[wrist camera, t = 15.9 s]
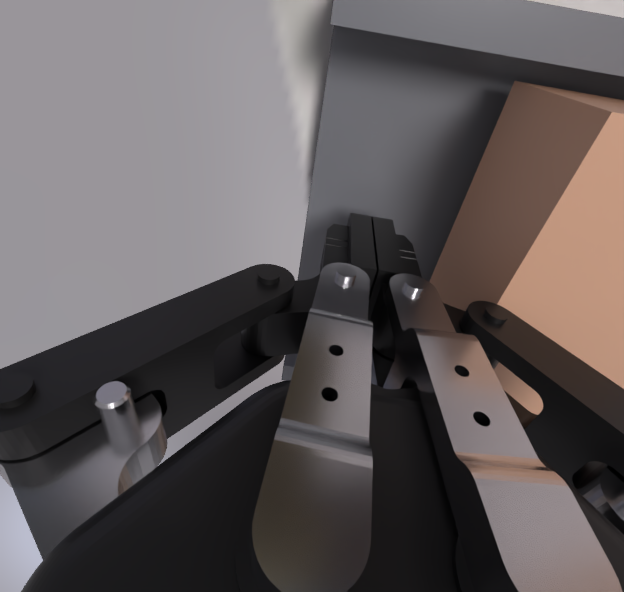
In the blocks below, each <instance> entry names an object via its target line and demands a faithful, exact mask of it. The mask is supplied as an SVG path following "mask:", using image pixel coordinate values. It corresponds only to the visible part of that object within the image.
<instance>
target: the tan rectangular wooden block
mask: <svg viewBox="0 0 624 592" xmlns="http://www.w3.org/2000/svg"><path fill="white" fill-rule="evenodd" d="M429 282H430V283H431V284H433V285H434V286H435V288H436V289H437V291H438V293H439V295H440V298H441V300H442V302H443V303H445V304H447V305H450V306H453V307H455V308H458V309H461V310H463V311H466V309H467V308H468V306H469V304H470V303H472V302H474V301H488V302H492V303H495V304H497V305H500V306H502V307H504V308H506V309H507V310H509V311H510V312H512V313H513V314H515V315H516V316H518V317H519V318H520V319H522V320H523V321H525V322H526V323H528V324H529V325H531V326H532V327H534V328H535V329H537V330H538V331H540V332H541V333H542V334H544V335H545V336H547V337H548V338H550V339H551V340H553V341H554V342H556V343H557V344H559V345H560V346H562V347H563V348H564V349H566V350H567V351H569V352H570V353H572V354H573V355H575V356H576V357H578V358H579V359H581V360H582V361H584V362H585V363H586V364H588V365H589V366H591V367H592V368H594V369H595V370H597V371H598V372H600V373H601V374H603V375H604V376H606V377H607V378H608V379H610V380H611V381H613V382H614V383H616V384H617V385H619V386H620V387H622V388H623V389H624V100H621V99H615V98H609V97H604V96H598V95H592V94H587V93H581V92H575V91H570V90H564V89H559V88H553V87H547V86H542V85H536V84H530V83H525V82H519V81H514V84H513V86H512V88H511V91H510V93H509V95H508V98H507V100H506V102H505V105H504V107H503V110H502V112H501V114H500V117H499V119H498V121H497V124H496V126H495V128H494V131H493V133H492V135H491V138H490V140H489V142H488V145H487V147H486V150H485V152H484V154H483V157H482V159H481V161H480V164H479V166H478V168H477V171H476V173H475V175H474V178H473V180H472V182H471V185H470V187H469V190H468V192H467V194H466V197H465V199H464V201H463V204H462V206H461V208H460V211H459V213H458V215H457V218H456V220H455V222H454V225H453V227H452V230H451V232H450V234H449V237H448V239H447V241H446V244H445V246H444V248H443V251H442V253H441V255H440V258H439V260H438V262H437V265H436V267H435V270H434V272H433V274H432V277H431V279H430V281H429ZM494 372H495V374H496V376H497V378H498V380H499V382H500V384H501V385H502V387H503V389H504V390H505V391H506V392H507V393H508V394H509V395H510V396H512V397H513V398H514V399H515V400H516V401H518V402H519V403H520V404H521V405H522V406H523V407H525V408H526V409H527V410H528V411H530V412H531V413H533V414H536V415H538V414H539V413H540V412H541V411H542V409H543V402H542V399H541V397H540V396H539V394H538V393H537V392H536V391H535V390H533V389H532V388H531V387H530V386H528V385H527V384H526V383H525V382H523V381H522V380H521V379H520V378H518V377H517V376H516V375H515V374H513V373H512V372H511V371H510V370H508V369H507V368H506V367H505V366H503V365H502V364H501V363H500V362H499V363H498V365H497V366H496V368H495V369H494Z"/></svg>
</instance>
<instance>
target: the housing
mask: <svg viewBox="0 0 624 592" xmlns="http://www.w3.org/2000/svg"><path fill="white" fill-rule="evenodd" d="M330 24H331V25H334V29H333V36H332V43H331V50H330V57H329V64H328V71H327V78H326V85H325V92H324V99H323V106H322V113H321V120H320V127H319V134H318V141H317V148H316V155H315V162H314V169H313V176H312V183H311V190H310V197H309V205H308V212H307V219H306V226H305V233H304V240H303V247H302V254H301V262H300V268H299V275H298V281H299V280H308V279H311V278H314V277H316V276H318V275H319V272H320V265H321V259H322V254H323V249H324V243H325V238H326V233H327V229H328V228H329V227H330V226H332V225H333V224H339V225H345V226H347V223H348V218H349V215H350V213H356V214H362V215H368V216H371V217H372V216H374V217H380V218H386V219H391V220H393V223H394V228H395V233H396V234H398V235H404V236H405V237H406V238H407V239H408V240H409V241H410V242H411V243H412V244H413V248H414V251H415V253H414V254H415V255H416V258H417V259H416V260H417V262H418V265H419V269H420V272H421V276H422V278H424V279H426V280H427V281H430V279H431V277H432V274H433V272H434V270H435V267H436V265H437V262H438V260H439V258H440V255H441V253H442V251H443V248H444V246H445V244H446V241H447V239H448V237H449V234H450V232H451V230H452V227H453V225H454V222H455V220H456V218H457V215H458V213H459V211H460V208H461V206H462V204H463V201H464V199H465V197H466V194H467V192H468V190H469V187H470V185H471V182H472V180H473V178H474V175H475V173H476V171H477V168H478V166H479V164H480V161H481V159H482V157H483V154H484V152H485V150H486V147H487V145H488V142H489V140H490V138H491V135H492V133H493V131H494V128H495V126H496V124H497V121H498V119H499V117H500V114H501V112H502V110H503V107H504V105H505V102H506V100H507V98H508V95H509V93H510V91H511V88H512V86H513V84H514V81H519V82H525V83H530V84H536V85H542V86H547V87H553V88H559V89H564V90H570V91H575V92H581V93H587V94H592V95H598V96H604V97H609V98H615V99H621V100H624V18H621V17H615V16H610V15H604V14H599V13H593V12H588V11H582V10H577V9H571V8H566V7H560V6H555V5H549V4H544V3H538V2H533V1H527V0H333V8H332V15H331V22H330ZM297 356H298V353H297V354H288V355H286V356H285V361H284V366H283V374H282V380H285V381H288V380H291V378H292V374H293V371H294V367H295V363H296V359H297Z"/></svg>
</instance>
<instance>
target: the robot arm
mask: <svg viewBox="0 0 624 592" xmlns="http://www.w3.org/2000/svg"><path fill="white" fill-rule="evenodd" d="M414 253H415V251H414V248H413V244H412V243H411V242H410V241H409V240H408V239H407V238H406V237H405V236H404V235H398V234H396V233H395V228H394V223H393V220H391V219H386V218H380V217H374V216H372V217H371V216H368V215H362V214H356V213H350V215H349V218H348V223H347V226H345V225H339V224H333V225H332V226H330V227H329V228H328V229H327V233H326V238H325V243H324V249H323V254H322V259H321V265H320V272H319V275H318V276H316V277H314V278H311V279H308V280H299V281H295V280H294V277H293V275H292V274H291V273H290V272H289V271H288V270H286V269H285V268H283V267H280V266H277V265H271V264H260V265H255V266H252V267H249V268H247V269H245V270H242V271H239V272H237V273H235V274H232V275H230V276H227V277H225V278H222V279H220V280H217V281H215V282H213V283H210V284H208V285H205V286H203V287H200V288H198V289H195V290H193V291H191V292H188V293H186V294H183V295H181V296H178V297H176V298H173V299H171V300H168V301H166V302H164V303H161V304H159V305H156V306H154V307H151V308H149V309H146V310H144V311H142V312H139V313H137V314H134V315H132V316H129V317H127V318H124V319H122V320H120V321H117V322H115V323H112V324H110V325H108V326H105V327H102V328H100V329H97V330H95V331H93V332H90V333H88V334H85V335H83V336H80V337H78V338H75V339H73V340H71V341H68V342H66V343H63V344H61V345H59V346H56V347H53V348H51V349H49V350H46V351H44V352H41V353H39V354H36V355H34V356H31V357H29V358H26V359H24V360H22V361H19V362H17V363H14V364H12V365H10V366H7V367H4V368H2V369H0V475H1V476H2V477H3V479H5V481H6V482H7V483H8V484H9V485H10V486H11V487H12V488H13V490H14V492H15V495H16V497H17V499H18V502H19V504H20V507H21V509H22V511H23V514H24V516H25V519H26V521H27V523H28V526H29V528H30V530H31V533H32V535H33V537H34V540H35V542H36V544H37V547H38V549H39V551H40V554H41V556H42V559H43V562H42V563H41V564H40V565H39V566H38V568H37V569H36V570H35V572H34V573H33V575H32V576H31V577H30V579H29V580H28V582H27V583H26V585H25V586H24V588H23V590H22V591H21V592H624V389H623V388H622V387H620V386H619V385H617V384H616V383H614V382H613V381H611V380H610V379H608V378H607V377H606V376H604V375H603V374H601V373H600V372H598V371H597V370H595V369H594V368H592V367H591V366H589V365H588V364H586V363H585V362H584V361H582V360H581V359H579V358H578V357H576V356H575V355H573V354H572V353H570V352H569V351H567V350H566V349H564V348H563V347H562V346H560V345H559V344H557V343H556V342H554V341H553V340H551V339H550V338H548V337H547V336H545V335H544V334H542V333H541V332H540V331H538V330H537V329H535V328H534V327H532V326H531V325H529V324H528V323H526V322H525V321H523V320H522V319H520V318H519V317H518V316H516V315H515V314H513V313H512V312H510V311H509V310H507V309H506V308H504V307H502V306H500V305H497V304H495V303H492V302H488V301H474V302H472V303H470V304H469V306H468V308H467V309H466V311H463V310H461V309H458V308H455V307H453V306H450V305H447V304H445V303H443V302H442V300H441V298H440V295H439V293H438V291H437V289H436V288H435V286H434V285H433V284H431V283H430V282H429V281H427V280H426V279H424V278H422V276H421V272H420V269H419V265H418V262H417V260H416V259H417V258H416V255H415V254H414ZM297 353H298V356H297V359H296V363H295V367H294V371H293V374H292V378H291V380H288V381H282V382H279V383H276V384H272V385H270V386H268V387H265V388H263V389H262V390H260V391H258V392H256V393H254V394H253V395H251V396H250V397H249V398H247V399H246V400H245V401H243V402H242V403H241V404H239V405H238V406H237V407H236V408H234V409H233V410H231V411H230V412H229V413H227V414H226V415H225V416H223V417H222V418H221V419H220V420H218V421H217V422H216V423H214V424H213V425H212V426H210V427H209V428H208V429H207V430H205V431H204V432H202V433H201V434H200V435H198V436H197V437H196V438H195V439H193V440H192V441H191V442H189V443H188V444H187V445H185V446H184V447H183V448H181V449H180V450H179V451H177V452H176V453H175V454H173V455H172V456H171V457H170V458H168V459H167V460H165V461H164V462H163V463H162V464H160V465H159V463H160V462H161V460H162V459H163V457H164V455H165V452H166V449H167V439H168V438H169V437H171V436H172V435H174V434H175V433H177V432H178V431H180V430H181V429H183V428H184V427H186V426H187V425H189V424H190V423H192V422H193V421H194V420H196V419H197V418H198V417H200V416H202V415H203V414H205V413H206V412H208V411H209V410H211V409H212V408H214V407H215V406H217V405H218V404H220V403H221V402H223V401H224V400H226V399H227V398H228V397H230V396H231V395H233V394H234V393H236V392H237V391H239V390H240V389H242V388H243V387H245V386H246V385H248V384H249V383H251V382H252V381H254V380H255V379H257V378H258V377H260V376H261V375H263V374H264V373H265V372H267V371H269V370H270V369H271V368H273V367H274V366H276V365H278V364H279V363H280V362H281V361H282V360H283V358H284V355H288V354H297ZM499 362H500V363H501V364H502V365H503V366H505V367H506V368H507V369H508V370H510V371H511V372H512V373H513V374H515V375H516V376H517V377H518V378H520V379H521V380H522V381H523V382H525V383H526V384H527V385H528V386H530V387H531V388H532V389H533V390H535V391H536V392H537V393H538V394H539V396H540V397H541V399H542V402H543V409H542V411H541V412H540V413H539V414H538V415H536V414H533V413H531V412H530V411H528V410H527V409H526V408H525V407H523V406H522V405H521V404H520V403H519V402H518V401H516V400H515V399H514V398H513V397H512V396H510V395H509V394H508V393H507V392H506V391H505V390H504V389H503V387H502V385H501V384H500V382H499V380H498V378H497V376H496V374H495V372H494V369H495V368H496V366H497V365H498V363H499ZM158 465H159V466H158ZM157 466H158V467H157Z"/></svg>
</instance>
